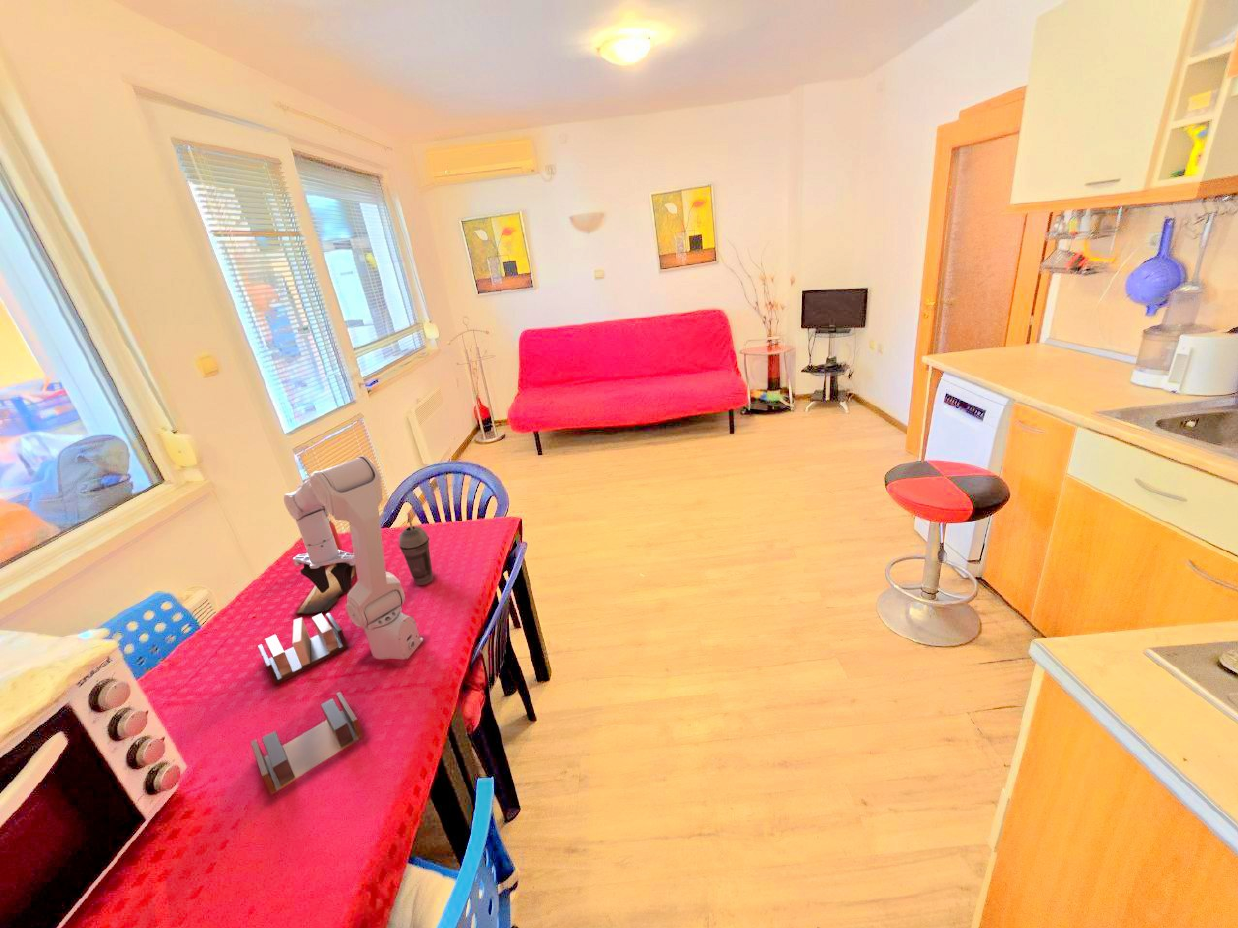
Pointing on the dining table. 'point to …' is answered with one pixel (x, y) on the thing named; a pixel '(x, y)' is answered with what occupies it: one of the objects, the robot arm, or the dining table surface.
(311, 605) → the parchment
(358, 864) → the dining table surface
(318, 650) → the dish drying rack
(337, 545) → the beer can
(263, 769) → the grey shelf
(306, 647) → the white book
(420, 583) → the beverage cup
